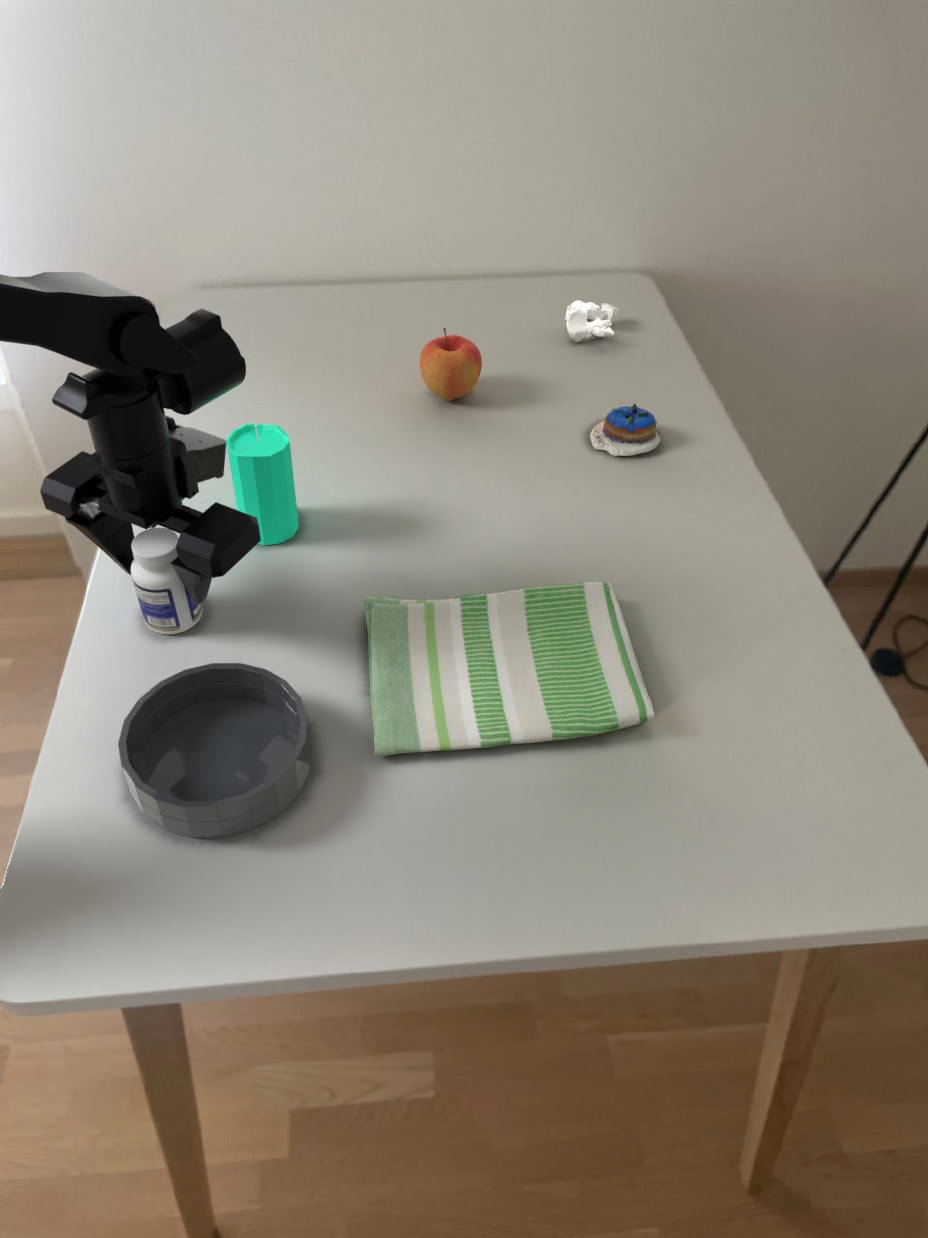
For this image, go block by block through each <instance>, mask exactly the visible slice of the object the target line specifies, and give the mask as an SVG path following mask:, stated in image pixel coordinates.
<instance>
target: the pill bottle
mask: <svg viewBox="0 0 928 1238" xmlns="http://www.w3.org/2000/svg"><path fill="white" fill-rule="evenodd" d="M178 539H179V535H178V533H177V532H175V531H172V530H170V529H167V528H165V527H155V528H152V529H150V528H148V529H147V530H146V529H144V530H142V531H141V532H139V533H137V535H135V536H134V539H133V541H132V545H131V547H132V552H133V556H134V560H133V562H132V565H131V575H130V576H131V579H132V583H133V586H134V591H135V594H136V597H137V600H138V604H139V608H140V611H141V614H142V617H143V621H144V623H145V625H146V626H147V627H148V628H149V629H150V630H151V631H153V632H155V633H158V634H162V635H176V634H179V633H183V632H186V631H188V630H190V629H191V628H193V627H194V626H196V625H197V624H198V623H199V621H200V620H201V618H202V615H203V602H202V603H201V604H198V603H196V602H195V601H194V600H193V598H192V597H191V596H190V594H189V593H188V591H187V590H186V588H185V586H184V585H183V583H182V581H181V580H180V578H179V576H178V575H177V573H176V572H175V570H174V568H173V567H172V565H171V562H172V561H173V560H174V559H175V558H176V557H178V555H177V550H176V545H177V542H178Z"/></svg>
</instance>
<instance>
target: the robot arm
mask: <svg viewBox="0 0 928 1238" xmlns="http://www.w3.org/2000/svg"><path fill="white" fill-rule="evenodd" d="M0 342H3V343H11V344H19V345H27V346H35V347H39V348H42V349H45V350H46V351H47V350H48V351H50V352H53V353H56V354H59V355H61V356H63V357H66V358H68V359H71V360H73V361H76V362H79V363H81V364H84V365H86V366H89V367H92V368H95V369H92V370H90V371H89V372H87V373H84V374H83V375H80V374H77V373H75V372H73V371H70V372H68V373H67V374H66V379H65V380H64V382H63V383H62V385H60V386H59V387H57V389H56V390H55V393H54V395H53V396H52V398H51V402H52V405H54V406H56V407H58V408H60V409H62V410H64V411H66V412H68V413H70V414H72V415H74V416H76V417H78V418H79V419H81V420H84V421H86V422H87V426H88V431H89V433H90V437H91V440H92V444H93V448H94V450H95V451H94V452H93V453H89V452H87V451H83V450H81V451H79V453H77V454H76V455H75V456H73V457H72V458H69V460H67V461H66V462H64V463H63V464H61V465H60V466H59V467H57V468H56V469H54V470H53V471H52V472H50V473H49V474H47V475H46V476H45V477H44V478H43V480H42V483H41V487H40V488H39V489H40V490H39V493H40V495H41V498H42V502H43V505H44V508H45V509H46V510H48V511H49V512H53V513H55V514H57V515H60V516H62V517H64V519H65V521H66V523H68V524H70V525H71V526H73V527H75V528H76V530H78V531H79V532H80V533H81V534H83V536H85V537H86V538H88V539H89V540H90V541H91V542H92V543H93V544H94V545H95V546H97V547H98V548H99V549H100V550H101V551H102V552H103V553H104V554H105V555H106V556H108V557H109V558H110V559H111V560H112V561H113V562H114V563H116V565H118V566H119V567H120V569H122V570H123V571H124V572H125V573H126V574H127V575H130V576H131V565H132V562H133V560H134V556H133V552H132V547H131V545H132V541H133V539H134V538H135V533H134V528H133V525H134V526H136V527H139V528H141V529H143V530H148V529H152V528H157V526H160V527H161V528H167V529H170V530H172V531H174V532H175V533H176V534H179V535H178V538H179V539H178V542H177V545H176V550H177V555H178V557H176V558H175V559H174V560H173V561H172V562H171V565H172V567H173V568H174V570H175V572H176V573H177V575H178V576H179V578H180V580H181V581H182V583H183V585H184V586H185V588H186V590H187V591H188V593H189V594H190V596H191V597H192V598H193V600H194V601H195V602H196V603H198V604H201V603H202V604H203V602H204V601H205V600H206V599H207V598H208V594H209V590H210V588H211V584H212V580H213V579H215V578H221V577H224V576H225V575H226V574H227V573H228V572H229V571H230V570H232V569H233V568H234V567H235V566H236V565H237V564H238V563H239V562H240V561H241V560H242V559H243V558H244V557H246V556H247V555H248V554H249V552H251V551H252V550H253V549H254V548H255V547H256V546H257V545H259V544H258V543H259V542H260V541H261V537H260V531H259V524H258V520H257V517H254V516H252V515H249V514H246V513H244V512H241V511H238V510H237V508H233V507H231V506H228V505H225V504H222V503H219V502H217V501H216V502H214V503H212V505H210V506H209V507H208V508H207V509H206V510H205V511H204V512H202V511H200V510H197V509H195V508H192V507H190V506H187V505H184V504H183V501H184V500H185V499H188V500H191V499H193V498H194V497H195V496H196V495H197V494H198V493H199V492H200V489H199V484H198V483H203V482H205V481H208V480H211V479H214V478H216V479H221V478H223V477H224V476H225V465H226V453H227V442H226V439H225V438H222V437H219V436H216V435H214V434H211V433H208V432H205V431H202V430H200V429H197V428H193V427H187V426H184V425H180V424H176V421H175V419H174V417H172V416H169V415H166V412H165V409H166V410H171V411H172V412H174V413H176V414H179V415H182V416H188V415H190V414H192V413H194V412H195V411H198V410H199V409H201V408H203V407H204V406H206V405H208V404H210V403H211V402H212V401H215V400H216V399H218V398H220V397H221V396H223V395H225V394H226V393H228V392H230V391H232V390H234V389H235V388H236V387H238V386H240V385H241V384H243V382H244V381H245V379H246V374H247V364H246V359H245V357H244V356H242V352H241V351H240V349H239V347H238V345H237V343H236V342H235V340H234V339H233V338H232V336H231V335H230V334H229V333H228V332H227V331H226V330H225V329H224V328H223V325H222V317H221V316H220V314H217V313H215V312H212V311H209V310H207V309H205V308H203V307H201V308H199V309H197V310H195V311H193V312H192V313H190V314H188V316H186V317H185V318H184V319H182V320H180V321H178V322H176V323H175V324H172V325H171V326H168V327H167V328H164V327H163V326H162V325H161V322H160V316H159V313H158V311H157V307H156V304H155V303H154V302H152V300H150V299H148V298H145V297H143V296H141V295H138V294H136V293H134V292H131V291H129V290H127V289H124V288H122V287H120V286H118V285H115V284H113V283H110V282H108V281H106V280H103V279H102V278H99V277H97V276H95V275H92V274H90V273H88V272H83V271H44V272H41V273H37V274H33V275H31V276H10V275H5V274H0Z"/></svg>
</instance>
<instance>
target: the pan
mask: <svg viewBox="0 0 928 1238" xmlns="http://www.w3.org/2000/svg"><path fill="white" fill-rule="evenodd" d="M309 723H310V722H309V717H308V714H307V711H306V708H305V704H304V701H303V698H302V697H301V696H300V695H299V693H298V692H297V691H296V690H295V689H294V688H293V686H292V685H291V684H290V683H289V682H288V681H287V680H286V679H284V678H282V677H280V676H279V675H277V674H276V673H273V672H272V671H270V670H268V669H266V668H263V667H258V666H254V665H251V664H246V663H242V662H213V663H208V664H203V665H199V666H195V667H189V668H187V669H183V670H181V671H179V672H177V673H175V674H173V675H171V676H169V677H167V678H164V679H163V680H160V681H159V682H158V683H156V684H155V685H154V686H152V687H151V688H150V689H149V690H148V691H147V692H145V693H144V694H143V695H142V696H141V697H139V698H138V699H137V701H136V702H135V703H134V705H133V706H132V708H131V709H130V711H129V712H128V714H127V715H126V716H125V718H124V720H123V722H122V728H121V731H120V734H119V738H118V743H117V747H118V753H119V761H120V765H121V769H122V771H123V774H124V778H125V781H126V783H127V786H128V788H129V792H130V794H131V796H132V798H133V799H134V801H135V803H136V805H137V807H138V808H139V809H140V811H141V812H142V813H143V814H144V815H145V817H147V818H148V819H149V820H150V821H151V822H153V823H154V824H156V825H157V826H159V827H161V828H163V829H164V830H166V831H168V832H171V833H174V834H177V835H179V836H185V837H189V838H197V839H216V838H217V839H218V838H226V837H230V836H231V837H232V836H234V835H239V834H242V833H245V832H249V831H252V830H253V829H256V828H258V827H260V826H262V825H264V824H266V823H268V822H269V821H271V820H272V819H274V818H275V817H277V816H278V815H279V814H280V813H282V812H283V811H284V810H285V809H287V807H288V806H289V805H290V804H291V803H292V802H293V801H294V799H295V798H297V796H298V795H299V793H300V792H301V790H302V788H303V787H304V786H305V783H306V781H307V778H308V776H309V772H310V769H311V763H312V749H313V748H312V740H311V732H310V731H311V730H310V724H309Z"/></svg>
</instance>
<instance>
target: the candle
mask: <svg viewBox="0 0 928 1238" xmlns="http://www.w3.org/2000/svg"><path fill="white" fill-rule="evenodd" d="M225 440H226V442H227V443H226V451H227V456H228V462H229V468H230V474H231V479H232V486H233V492H234V498H235V504H236V510H238V511H241V512H244V513H246V514H249V515H252V516H254V517H257V520H258V524H259V531H260V537H261V541H260V542H259V543H258V544H257V545H261V546H269V545H277V544H282V543H284V542H286V541H288V540H290V539H291V538H294V536H295V534H296V533H297V531H298V530H299V528H300V524H299V514H298V506H297V496H296V495H297V494H296V487H295V478H294V477H295V476H294V469H293V468H294V466H293V460H292V450H291V441H290V437H289V434H287V433H286V431H285V430H283V428H282V427H280V426H279V425H278V424H261V423H244V424H242V425H241V426H239V427H237V428H235V429H233V430H232V431H231V432H230V434H229V435H228V436H227V438H226V439H225Z"/></svg>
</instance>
